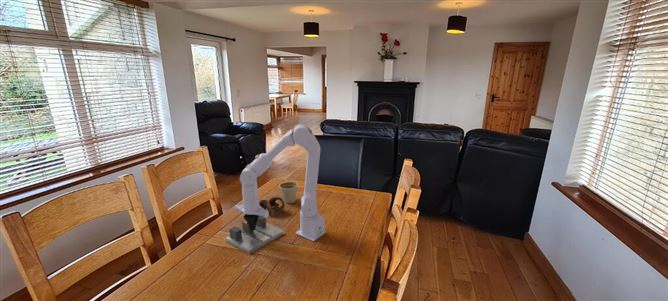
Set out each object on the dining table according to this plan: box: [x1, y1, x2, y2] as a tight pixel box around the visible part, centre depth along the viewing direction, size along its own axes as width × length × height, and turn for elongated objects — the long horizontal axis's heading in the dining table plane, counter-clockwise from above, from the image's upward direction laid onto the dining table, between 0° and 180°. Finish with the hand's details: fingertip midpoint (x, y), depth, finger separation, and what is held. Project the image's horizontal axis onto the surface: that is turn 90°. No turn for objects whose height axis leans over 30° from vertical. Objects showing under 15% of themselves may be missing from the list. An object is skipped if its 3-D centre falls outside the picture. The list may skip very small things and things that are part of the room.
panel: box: [225, 216, 285, 255], centre depth 112 cm, size 14×17×5 cm
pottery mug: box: [259, 196, 286, 217], centre depth 132 cm, size 12×10×8 cm
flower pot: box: [278, 181, 299, 204], centre depth 144 cm, size 9×9×9 cm
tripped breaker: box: [241, 219, 251, 233], centre depth 114 cm, size 4×2×4 cm, turn 54°
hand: (253, 230), depth 112 cm, fingers closed
